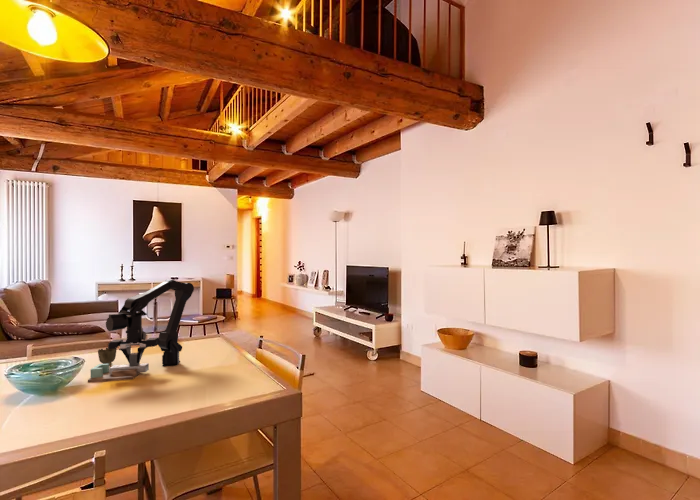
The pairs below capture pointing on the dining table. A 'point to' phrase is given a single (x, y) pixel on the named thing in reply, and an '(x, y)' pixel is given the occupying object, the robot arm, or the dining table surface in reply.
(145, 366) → the grey t-shaped block
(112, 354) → the cup
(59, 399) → the dining table surface
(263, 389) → the dining table surface
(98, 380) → the slide base
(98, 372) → the socket block
